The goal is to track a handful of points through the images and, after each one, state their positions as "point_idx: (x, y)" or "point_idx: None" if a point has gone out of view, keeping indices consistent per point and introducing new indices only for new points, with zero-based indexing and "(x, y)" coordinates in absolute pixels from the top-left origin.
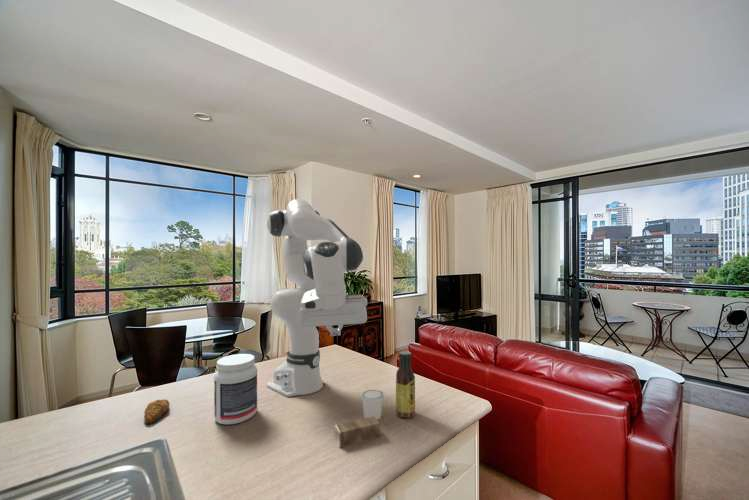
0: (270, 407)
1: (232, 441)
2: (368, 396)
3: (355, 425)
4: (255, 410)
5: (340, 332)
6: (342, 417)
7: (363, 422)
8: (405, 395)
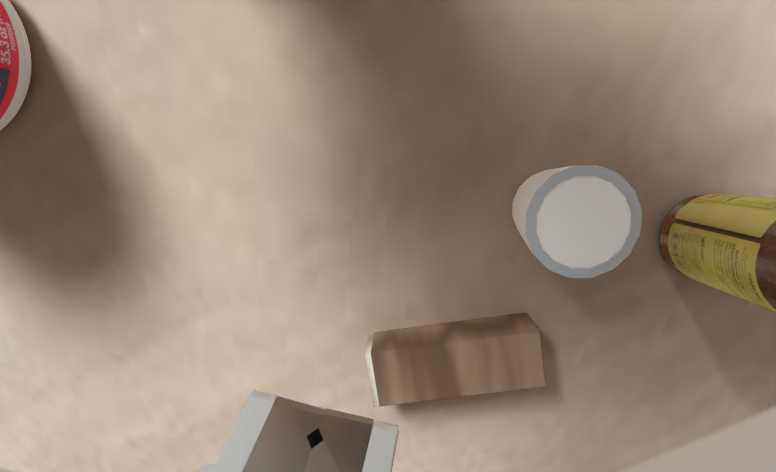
0: (91, 9)
1: (6, 252)
2: (554, 241)
3: (445, 377)
4: (22, 78)
5: (397, 434)
6: (417, 189)
7: (482, 363)
8: (748, 301)
